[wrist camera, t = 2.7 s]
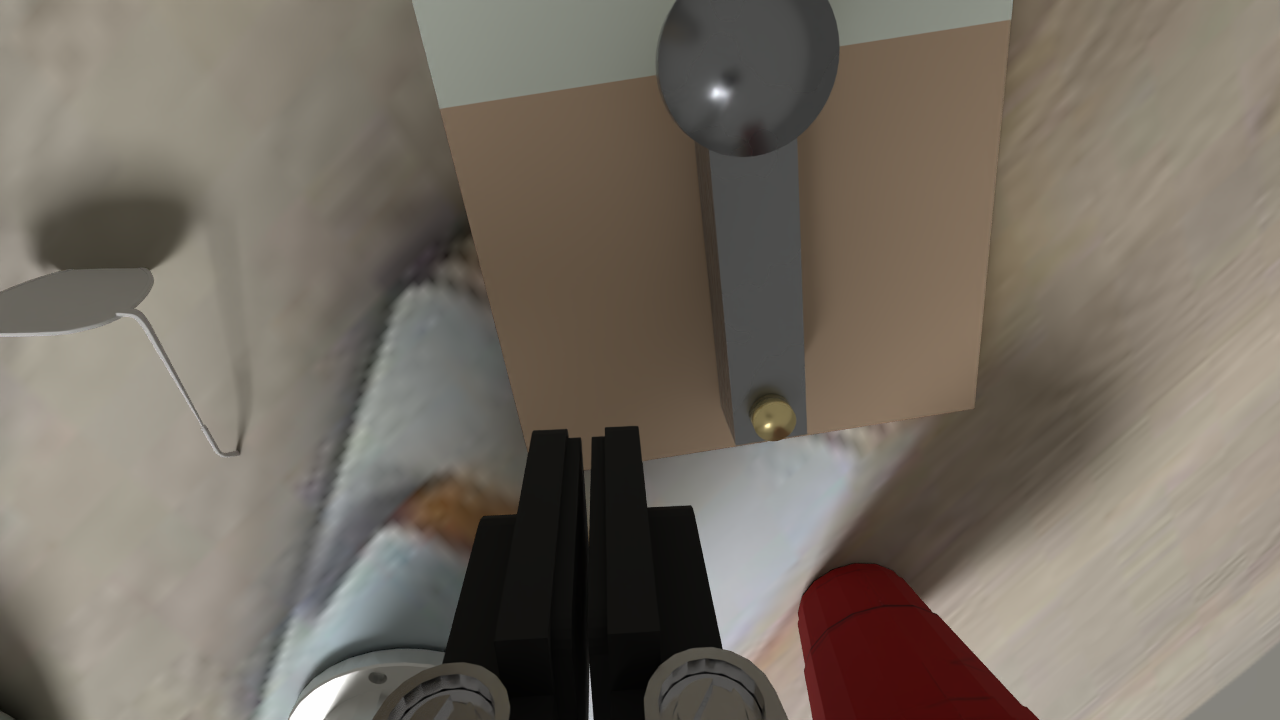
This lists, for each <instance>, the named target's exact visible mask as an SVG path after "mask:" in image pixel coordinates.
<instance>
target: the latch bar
mask: <svg viewBox="0 0 1280 720" xmlns="http://www.w3.org/2000/svg"><path fill="white" fill-rule="evenodd" d="M839 51H840V45H839V33H838V28H837V22H836V19H835V16H834V13H833V10H832V7H831V5H830V3H829V1H828V0H676V1H675V2H674V3H673V5H672V7H671V8H670V10H669V12H668V14H667V16H666V18H665V20H664V23H663V25H662V28H661V31H660V34H659V38H658V43H657V49H656V61H655V65H656V78H657V84H658V89H659V92H660V95H661V98H662V101H663V103H664V105H665V108H666V110H667V111H668V113H669V115H670V116H671V118H672V120H673V121H674V122H675V123H676V125H677V126H678V127H679V128H680V129H681V130H682V131H683V132H684V133H685V134H686V135H687V136H688V137H690V138H691V139H693V140H694V142H695V152H696V162H697V172H698V182H699V192H700V203H701V213H702V223H703V233H704V243H705V253H706V263H707V273H708V283H709V293H710V303H711V313H712V323H713V333H714V343H715V353H716V363H717V373H718V383H719V393H720V403H721V408H722V411H723V414H724V416H725V419H726V422H727V424H728V427H729V429H730V432H731V435H732V437H733V440H734V442H735V445H743V444H749V443H755V442H762V441H778V440H781V439H784V438H787V437H794V436H800V435H806V434H807V412H806V383H805V354H804V324H803V295H802V266H801V236H800V207H799V178H798V148H797V137H798V136H800V135H801V134H802V133H803V132H804V131H805V130H806V129H807V128H808V127H809V126H810V125H811V124H812V123H813V122H814V120H815V119H816V118H817V116H818V115H819V113H820V112H821V111H822V109H823V107H824V105H825V104H826V102H827V100H828V98H829V96H830V93H831V91H832V88H833V86H834V82H835V79H836V75H837V70H838V64H839Z"/></svg>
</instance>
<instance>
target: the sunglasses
mask: <svg viewBox="0 0 1280 720" xmlns="http://www.w3.org/2000/svg"><path fill="white" fill-rule="evenodd" d="M153 283H154V278H153V275H152V273H151V271H150V270H149V269H147V268H142V267H139V268H103V269H78V270H73V269H67V270H62V271H59V272H55V273H51V274H48V275H45V276H41V277H38V278H35V279H32V280H29V281H27V282H24V283H21V284H18V285H16V286H13V287H11V288H8V289H6V290H4V291H1V292H0V337H19V336H50V335H64V334H71V333H76V332H81V331H85V330H90V329H93V328H97V327H100V326H103V325H106V324H109V323H111V322H113V321H115V320H118V319H120V318H121V317H123V316H125V317H132V318H134V319H136V320H137V322H138V323H139V324H140V325H141V327H142V328H143V330H144V331H145V333H146V335H147V336H148V338H149V340H150V341H151V343H152V345H153V346H154V348H155V350H156V351H157V353H158V355H159V356H160V358H161V360H162V361H163V363H164V365H165V366H166V368H167V370H168V371H169V373H170V375H171V376H172V378H173V380H174V381H175V383H176V385H177V386H178V388H179V390H180V391H181V393H182V394H183V396H184V398H185V399H186V401H187V403H188V404H189V406H190V408H191V409H192V411H193V413H194V414H195V416H196V418H197V419H198V421H199V423H200V424H201V429H202V431H203V433H204V434H205V436H206V438H207V439H208V441H209V443H210V445H211V446H212V448H213V450H214V451H215V452H216V454H217V455H219V456H221V457H233V456H238V455H240V454H239V452H238V450H236V451H233V452H229V453H223V452H221V451H220V450H219V448H218V446H217V444H216V443H215V441H214V439H213V437H212V435H211V434H210V432H209V430H208V428H207V427H206V425H203V423H202V421H201V419H200V417H199V415H198V413H197V411H196V410H195V408H194V406H193V404H192V402H191V400H190V398H189V396H188V394H187V392H186V391H185V389H184V387H183V385H182V383H181V381H180V379H179V377H178V375H177V373H176V372H175V370H174V368H173V366H172V364H171V362H170V360H169V358H168V356H167V355H166V353H165V351H164V349H163V347H162V345H161V343H160V341H159V339H158V337H157V336H156V334H155V332H154V330H153V328H152V326H151V324H150V322H149V321H148V319H147V318H146V317H145V315H144V314H143V313H142V312H141V311H139V310H137V309H134V308H136V307H137V306H138V305H139V304H140V303H141V302H142V301H143V300H144V299H145V297H146V296H147V295H148V294H149V292H150V290H151V288H152V286H153Z"/></svg>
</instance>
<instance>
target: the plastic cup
mask: <svg viewBox="0 0 1280 720" xmlns="http://www.w3.org/2000/svg"><path fill="white" fill-rule="evenodd" d="M798 617H799V621H798V628H799V634H800V639H801V645H802V650H803V656H804V662H805V669H804V674H805V679H806V685H807V690H808V696H809V701H810V707H811V712H812V718H813V720H1039V719H1038V718H1037V717H1036V716H1035V715H1034V714H1033V713H1032V712H1031V711H1030V710H1029V709H1028V708H1027V707H1025V706H1022V705H1021V704H1020V703H1019V701H1018V700H1017V699H1016V698H1015V697H1014V696H1013V695H1012V694H1011V693H1010V692H1009V691H1008V690H1007V689H1006V688H1005V686H1004V685H1003V684H1002V683H1001V682H1000V681H999V680H998V679H997V678H996V677H995V676H994V675H993V674H992V673H991V671H990V670H989V669H988V668H987V667H986V666H985V665H984V664H983V663H982V662H981V661H980V660H979V659H978V657H977V656H976V655H975V654H974V653H973V652H972V651H971V650H970V649H969V648H968V647H967V646H966V645H965V644H964V642H963V641H962V640H961V639H960V638H959V637H958V636H957V635H956V634H955V633H954V632H953V631H952V630H951V628H950V627H949V626H948V625H947V624H946V623H945V622H944V621H943V620H942V619H941V618H940V617H939V616H938V615H937V614H935V613H933V612H932V611H931V610H930V609H929V608H928V606H927V605H926V604H925V603H924V602H923V601H922V600H921V599H920V597H919V596H918V595H917V594H916V593H915V592H914V591H913V589H912V588H911V587H910V586H909V585H908V584H907V583H906V582H905V580H904V579H903V578H901V577H899V576H897V574H896V573H895V572H894V571H892V570H890V569H887V568H885V567H882V566H880V565H877V564H858V563H854V564H851V565H847V566H844V567H840V568H837V569H833V570H831V571H830V572H828V573H827V574H825V575H823V576H822V577H820V578H819V579H817V580H816V581H814V582H813V584H812V585H811V586H810V587H809V589H808V590H807V591H806V592H805V594H804V595H803V596H802V599H801V603H800V607H799V611H798Z"/></svg>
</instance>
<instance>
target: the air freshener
mask: <svg viewBox="0 0 1280 720" xmlns="http://www.w3.org/2000/svg"><path fill="white" fill-rule="evenodd" d="M0 720H15V719H14V718H12V717H11V716H9V715H8V714H6V713H4V712H2V711H0Z"/></svg>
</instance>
